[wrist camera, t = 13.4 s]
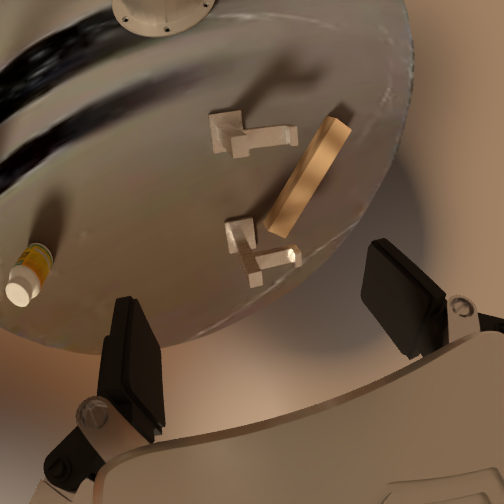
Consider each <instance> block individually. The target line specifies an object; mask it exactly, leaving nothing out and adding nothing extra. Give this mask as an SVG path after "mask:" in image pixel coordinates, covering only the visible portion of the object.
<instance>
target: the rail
mask: <svg viewBox="0 0 504 504" xmlns="http://www.w3.org/2000/svg"><path fill="white" fill-rule="evenodd" d="M350 132H351V129H350V128H348V127H347V126H346V125H345V124H343V123H342V122H341V121H339V120H338V119H337V118H333V117H329V116H326V118H325V119H324V121H323V123H322V124H321V126H320V128H319V129H318V131H317V133H316V134H315V136H314V138H313V139H312V141H311V143H310V144H309V146H308V148H307V149H306V151H305V153H304V154H303V156H302V158H301V159H300V161H299V163H298V164H297V166H296V168H295V169H294V171H293V173H292V174H291V176H290V178H289V179H288V181H287V183H286V184H285V186H284V188H283V189H282V191H281V193H280V195H279V196H278V198H277V200H276V201H275V203H274V205H273V206H272V208H271V210H270V211H269V213H268V215H267V216H266V218H265V220H264V221H263V224H264V225H265V227H266V228H267V230H268V231H270V232H272V233H275V234H277V235H279V236H282V237H284V238H286V236H287V235H288V233H289V232H290V230H291V228H292V227H293V225H294V224H295V222H296V221H297V219H298V217H299V216H300V214H301V212H302V211H303V209H304V208H305V206H306V204H307V203H308V201H309V200H310V198H311V196H312V195H313V193H314V192H315V190H316V188H317V187H318V185H319V183H320V182H321V180H322V178H323V177H324V175H325V174H326V172H327V170H328V169H329V167H330V165H331V164H332V162H333V160H334V159H335V157H336V155H337V154H338V152H339V151H340V149H341V147H342V146H343V144H344V142H345V141H346V139H347V137H348V136H349V134H350Z"/></svg>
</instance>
